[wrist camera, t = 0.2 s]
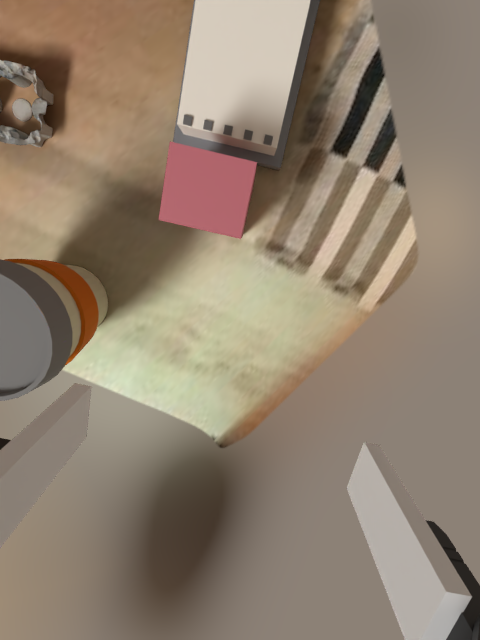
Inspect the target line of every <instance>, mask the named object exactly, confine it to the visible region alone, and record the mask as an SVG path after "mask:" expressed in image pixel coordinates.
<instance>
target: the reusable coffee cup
mask: <svg viewBox="0 0 480 640" xmlns="http://www.w3.org/2000/svg"><path fill="white" fill-rule="evenodd" d="M107 310H108V298H107V294H106V291H105V288H104V287H103V285H102V283H101V282H100V281H99V279H98V278H97V277H96V276H95V275H94V274H92V273H91V272H90V271H88V270H86V269H84V268H82V267H79V266H74V265H63V264H60V263H57V262H53V261H46V260H30V259H6V260H0V401H2V400H4V401H5V400H9V399H13V398H18V397H20V396H22V395H24V394H27V393H28V392H30V391H32V390H34V389H36V388H38V387H39V386H41V385H43V384H45V383H46V382H48V381H50V380H51V379H52V378H54V377H55V376H56V375H58V373H59V372H60V371H61V370H62V369H63V367H64V366H65V365H67V364H68V363H69V362H71V361H72V360H73V359H74V357H75V356H76V355H77V354H78V353H79V352H80V351H81V350H82V349H83V347H84V346H85V345H86V344H87V343H88V342H89V341H90V339H91V338H92V337H93V335H94V333H95V331H96V329H97V327H98V326H99V325H100V324H101V322H102V321H103V320H104V318H105V316H106V314H107Z"/></svg>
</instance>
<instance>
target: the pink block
mask: <svg viewBox="0 0 480 640" xmlns="http://www.w3.org/2000/svg"><path fill="white" fill-rule="evenodd" d="M256 167H257V162H254V161H249V160H245V159H241V158H237V157H233V156H228V155H224V154H220V153H216V152H212V151H208V150H203V149H199V148H195V147H191V146H187V145H182V144H178V143H174V142H170V145H169V152H168V158H167V165H166V172H165V179H164V186H163V193H162V200H161V206H160V213H159V220H161V221H166V222H170V223H174V224H179V225H183V226H187V227H192V228H196V229H200V230H205V231H209V232H214V233H218V234H222V235H227V236H231V237H235V238H240V239H241V238H242V236H243V232H244V227H245V223H246V218H247V214H248V209H249V204H250V200H251V195H252V190H253V186H254V180H255V173H256Z"/></svg>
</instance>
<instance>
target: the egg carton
mask: <svg viewBox="0 0 480 640" xmlns="http://www.w3.org/2000/svg"><path fill="white" fill-rule="evenodd" d="M1 76H3V77H5V78H7V79H8V80H10V81H11V82H13V83H15V84H16V85H18V86H20V87H28V86H30V85H31V83H33V84H34V89H35V92H36V93H37V95H38V96H39V97H40V98H38V99H35V101H34V102H33V104H32V107H31V104H30V103H29V102H28V101H27V100H25V99H17V100H15V101H14V103H13V105H12V110H13V114H14V115H15V117H16V118H17V119H19V120H20V121H28V120H30V119H31V117H32V115H34V117H35V118H36V119H37V120H38V121H40V122H41V129H40V130H36V131H32V132H31V133H30V136H29V135H27V134H26V133H24V132H22V131H19V130H17V129H15V128H13V127H8V126H3V125H1V126H0V141H1V142H4V143H10V144H16V145H27V144H31V145H33V146H37V147H42V144H43V142H44V140H45V139H47V138H51V137H52V131H53V129H52V128H51V127H49V126H48V125H47V124H46V123H45V121H44V119H43V115H45V113H46V107H47V106H48V105H52V104H53V94H52V93H50V92H49V91H48V90H46V88H45V87H44V84H43V81H42V80H40V79H39V78H38V77H37V76H36V72H35V70H34V69H31V68H30V67H28V66H24V65H22V64H18V63H14V62H10V61H5V60H4V61H2V60H0V77H1ZM1 111H2V101H1V99H0V112H1Z"/></svg>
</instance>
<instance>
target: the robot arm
mask: <svg viewBox="0 0 480 640" xmlns="http://www.w3.org/2000/svg"><path fill="white" fill-rule="evenodd" d="M90 396H91V386H86V385H81V384H77V383H75V384H74V385H73V386H71V387H70V388H69V389H68V390H67V391H66V392H65V393H64V394H62V395H61V396H60V397H59V398H58V399H57V400H56V401H55V402H53V403H52V404H51V405H50V406H49V407H48V408H47V409H46V410H45V411H43V412H42V413H41V414H40V415H39V416H38V417H37V418H36V419H34V420H33V421H32V422H31V423H30V424H29V425H28V426H27V427H26V428H25V429H23V430H22V431H21V432H20V433H19V434H18V435H17V436H16V437H14V438H13V439H12V440H8V439H2V438H0V548H1V546H2V545H3V544H4V542H5V541H6V540H7V539H8V537H9V536H10V535H11V533H12V532H13V531H14V530H15V528H16V527H17V526H18V524H19V523H20V522H21V521H22V519H23V518H24V517H25V515H26V514H27V513H28V512H29V510H30V509H31V508H32V506H33V505H34V504H35V502H36V501H37V500H38V498H39V497H40V496H41V495H42V493H43V492H44V491H45V490H46V488H47V487H48V486H49V484H50V483H51V482H52V481H53V479H54V478H55V477H56V475H57V474H58V473H59V471H60V470H61V469H62V468H63V466H64V465H65V464H66V462H67V461H68V460H69V459H70V457H71V456H72V455H73V453H74V452H75V451H76V450H77V448H78V447H79V446H80V444H81V443H82V442H83V440H84V439H85V438H86V436H87V427H88V417H89V406H90ZM347 490H348V492H349V495H350V498H351V500H352V503H353V505H354V508H355V510H356V513H357V516H358V518H359V521H360V524H361V526H362V529H363V532H364V534H365V537H366V539H367V542H368V545H369V547H370V550H371V552H372V555H373V558H374V560H375V563H376V565H377V568H378V571H379V573H380V576H381V578H382V581H383V583H384V586H385V589H386V592H387V594H388V597H389V599H390V602H391V604H392V607H393V610H394V612H395V615H396V617H397V620H398V623H399V625H400V628H401V630H402V633H403V636H404V638H405V640H480V585H479V584H478V582H477V581H476V579H475V578H474V576H473V575H472V573H471V571H470V570H469V568H468V567H467V565H466V564H464V562H463V559H462V558H461V556H460V554H459V553H458V552H456V548H455V547H454V545H453V544H452V543H451V541H450V539H449V538H448V536H447V535H446V534H445V533H444V532H443V531H442V530H441V529H440V528H439V527H438V526H437V525H436V524H435V523H434V522H432V521H426V520H425V519H424V517H423V515H422V514H421V512H420V511H419V509H418V507H417V506H416V504H415V503H414V501H413V499H412V497H411V496H410V494H409V493H408V491H407V489H406V488H405V486H404V485H403V483H402V481H401V479H400V478H399V476H398V475H397V473H396V471H395V470H394V468H393V466H392V465H391V463H390V461H389V460H388V458H387V457H386V455H385V453H384V452H383V450H382V448H381V447H380V445H377V444H371V443H367V442H364V444H363V447H362V449H361V452H360V454H359V457H358V460H357V462H356V465H355V468H354V470H353V473H352V476H351V478H350V481H349V484H348V486H347Z"/></svg>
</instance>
